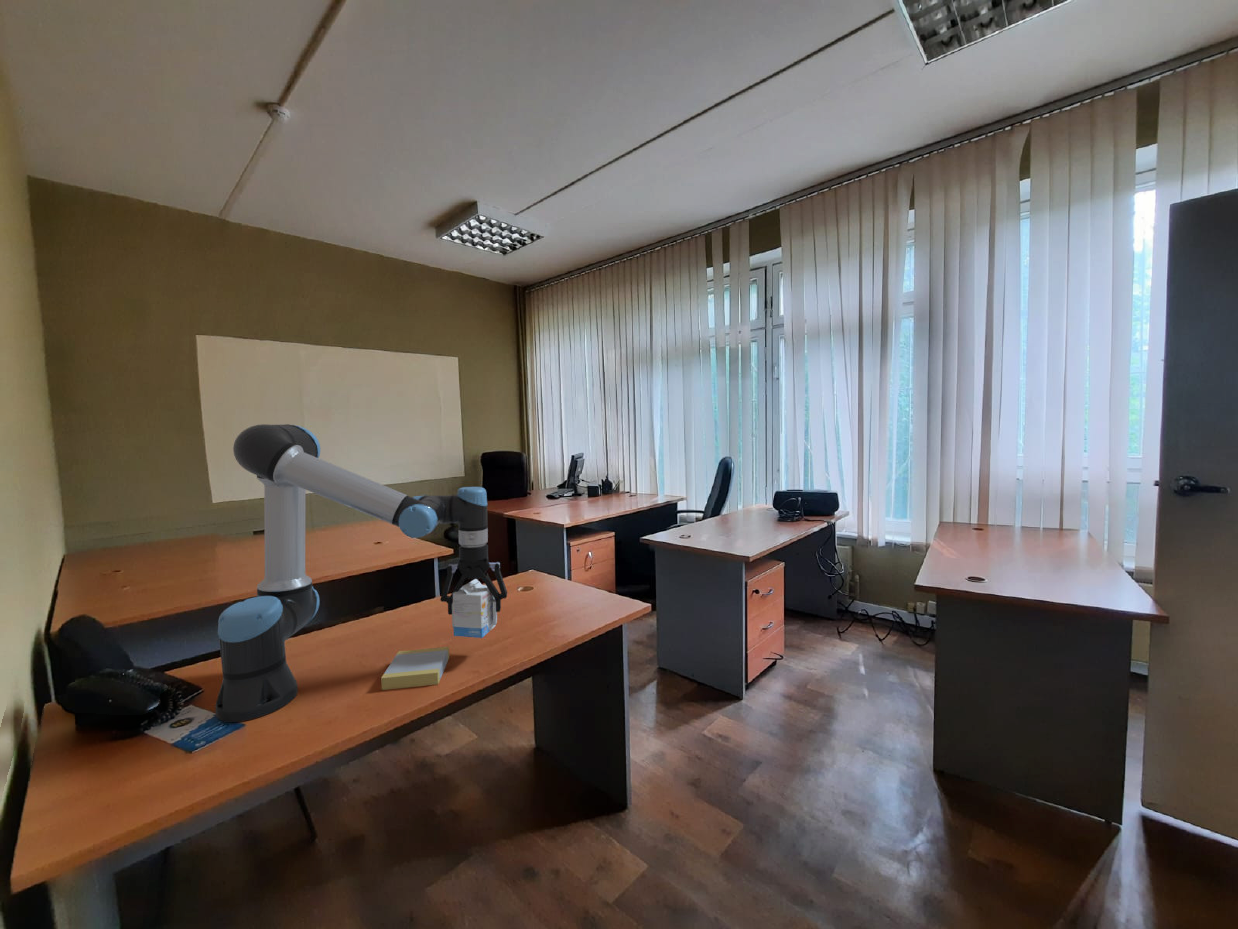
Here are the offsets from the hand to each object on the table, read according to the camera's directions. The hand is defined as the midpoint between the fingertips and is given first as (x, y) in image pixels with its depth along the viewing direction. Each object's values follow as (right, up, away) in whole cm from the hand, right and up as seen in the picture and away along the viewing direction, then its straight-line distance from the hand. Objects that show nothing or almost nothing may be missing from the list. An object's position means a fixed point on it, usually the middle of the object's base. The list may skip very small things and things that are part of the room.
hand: (475, 624), depth 130 cm
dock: (-13, -10, -7) cm, 18 cm away
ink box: (0, -2, 0) cm, 2 cm away
